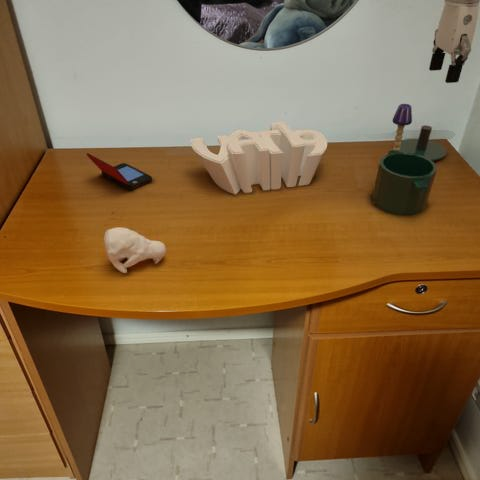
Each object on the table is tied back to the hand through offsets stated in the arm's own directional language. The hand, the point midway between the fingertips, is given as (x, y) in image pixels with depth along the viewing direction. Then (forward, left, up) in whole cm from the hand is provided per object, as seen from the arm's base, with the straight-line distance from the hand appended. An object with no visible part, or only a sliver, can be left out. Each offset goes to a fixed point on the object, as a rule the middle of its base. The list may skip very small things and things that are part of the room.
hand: (443, 76), depth 122 cm
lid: (0, 0, -20) cm, 20 cm away
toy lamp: (+12, +9, -21) cm, 25 cm away
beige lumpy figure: (+78, +42, -21) cm, 91 cm away
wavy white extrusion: (+47, +8, -21) cm, 52 cm away
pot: (+16, +25, -20) cm, 36 cm away
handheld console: (+83, +6, -21) cm, 86 cm away
